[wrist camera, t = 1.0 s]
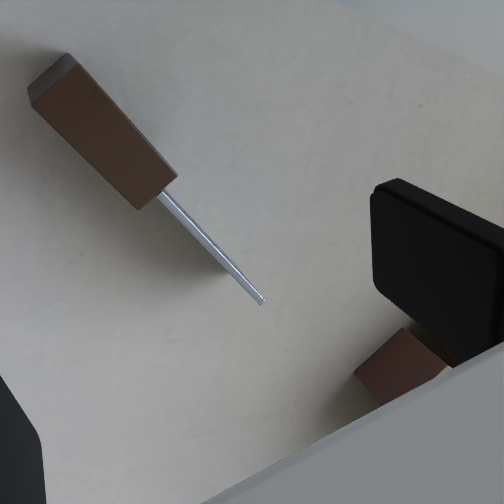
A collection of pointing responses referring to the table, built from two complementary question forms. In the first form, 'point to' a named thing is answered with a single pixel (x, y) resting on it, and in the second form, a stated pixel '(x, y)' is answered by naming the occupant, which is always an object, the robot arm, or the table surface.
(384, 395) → the cake
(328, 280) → the table surface
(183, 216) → the knife
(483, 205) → the table surface
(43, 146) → the table surface
